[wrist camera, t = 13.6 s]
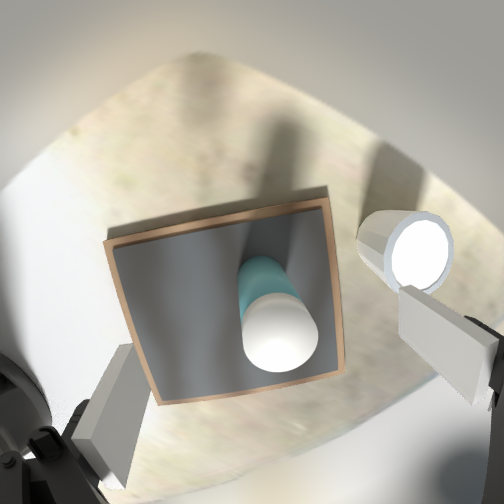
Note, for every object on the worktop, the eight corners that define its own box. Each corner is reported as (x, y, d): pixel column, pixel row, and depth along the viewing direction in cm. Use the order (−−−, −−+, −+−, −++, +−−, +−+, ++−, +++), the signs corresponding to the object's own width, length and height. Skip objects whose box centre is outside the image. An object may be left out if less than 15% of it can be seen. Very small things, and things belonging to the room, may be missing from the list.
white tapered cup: (340, 217, 28) (374, 229, 21) (403, 193, 28) (446, 199, 21) (360, 285, 30) (393, 313, 23) (418, 259, 29) (459, 279, 23)
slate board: (159, 400, 31) (157, 407, 30) (106, 239, 27) (101, 242, 26) (342, 367, 31) (345, 374, 30) (325, 196, 27) (329, 197, 26)
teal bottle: (245, 307, 28) (256, 380, 17) (230, 264, 27) (232, 320, 16) (289, 292, 28) (325, 357, 17) (276, 249, 27) (307, 295, 16)
